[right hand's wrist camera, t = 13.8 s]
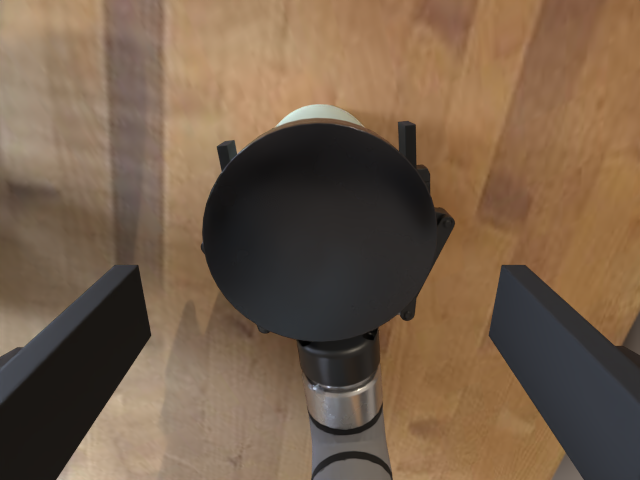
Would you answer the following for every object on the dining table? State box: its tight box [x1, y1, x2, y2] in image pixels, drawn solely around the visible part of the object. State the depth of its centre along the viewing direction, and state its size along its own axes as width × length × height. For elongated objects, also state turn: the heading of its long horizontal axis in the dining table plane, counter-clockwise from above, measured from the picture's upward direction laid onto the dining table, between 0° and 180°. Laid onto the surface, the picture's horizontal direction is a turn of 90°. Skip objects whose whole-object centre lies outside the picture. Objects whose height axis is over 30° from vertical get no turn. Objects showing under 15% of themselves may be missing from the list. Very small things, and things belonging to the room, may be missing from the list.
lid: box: [202, 118, 437, 342], centre depth 19 cm, size 11×11×2 cm
